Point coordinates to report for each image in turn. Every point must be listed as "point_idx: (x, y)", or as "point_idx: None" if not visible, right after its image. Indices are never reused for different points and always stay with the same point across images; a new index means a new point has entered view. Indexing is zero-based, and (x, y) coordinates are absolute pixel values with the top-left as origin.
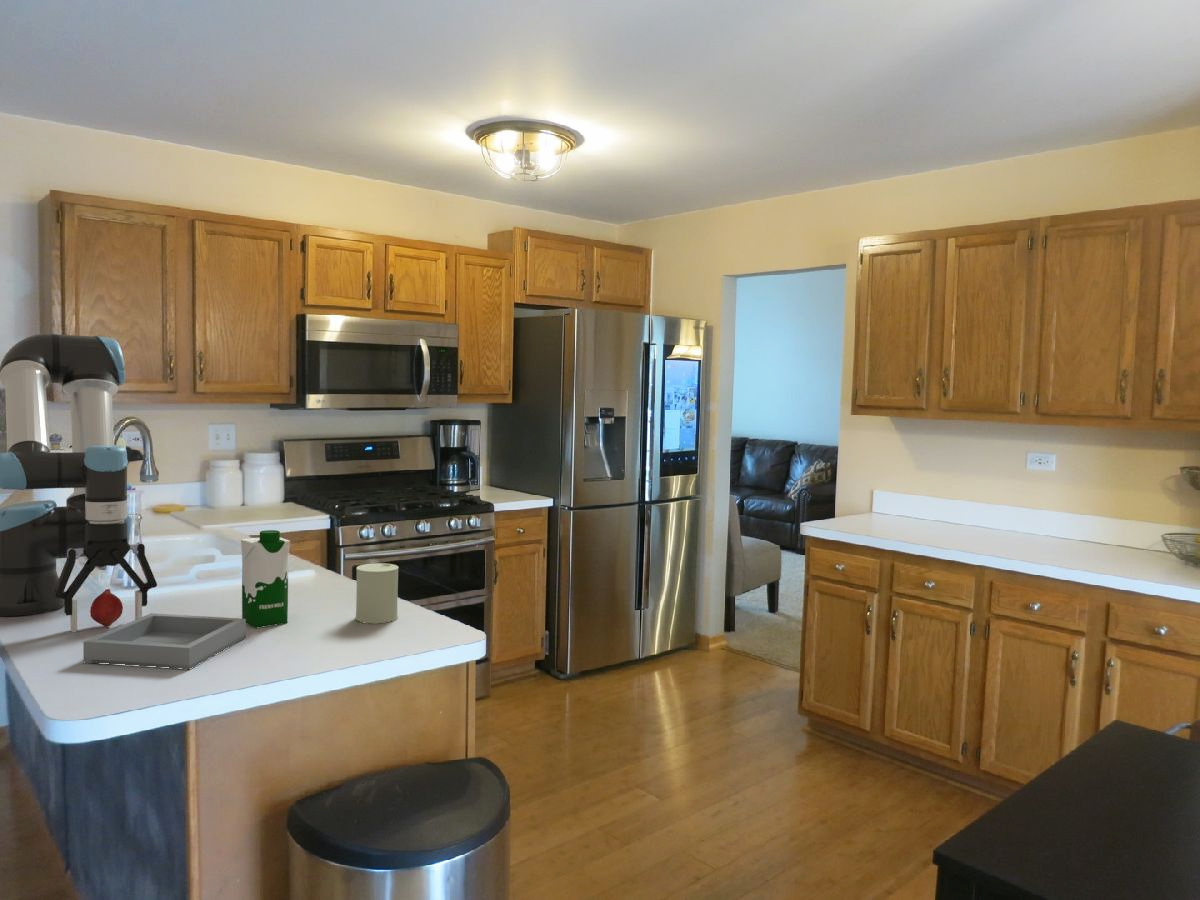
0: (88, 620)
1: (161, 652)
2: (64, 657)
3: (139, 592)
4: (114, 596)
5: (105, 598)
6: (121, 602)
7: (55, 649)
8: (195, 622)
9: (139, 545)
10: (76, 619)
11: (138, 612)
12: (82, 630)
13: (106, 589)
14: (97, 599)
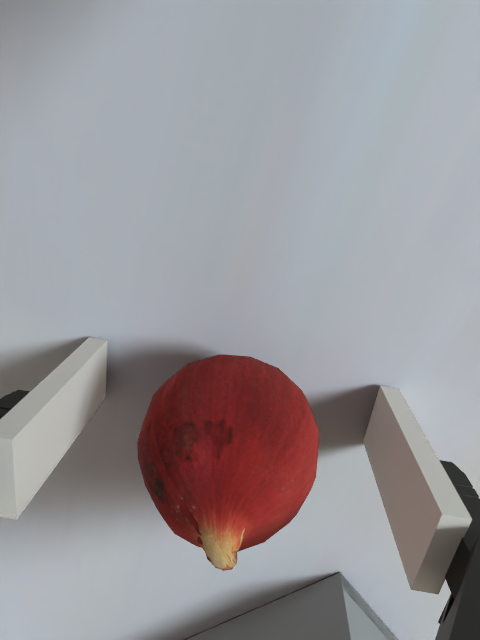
0: (209, 196)
1: None
2: (22, 627)
3: (427, 584)
4: (259, 540)
5: (195, 544)
6: (310, 489)
7: (6, 545)
8: None
9: None
10: (77, 431)
11: (378, 481)
12: (135, 373)
13: (209, 557)
14: (157, 501)
